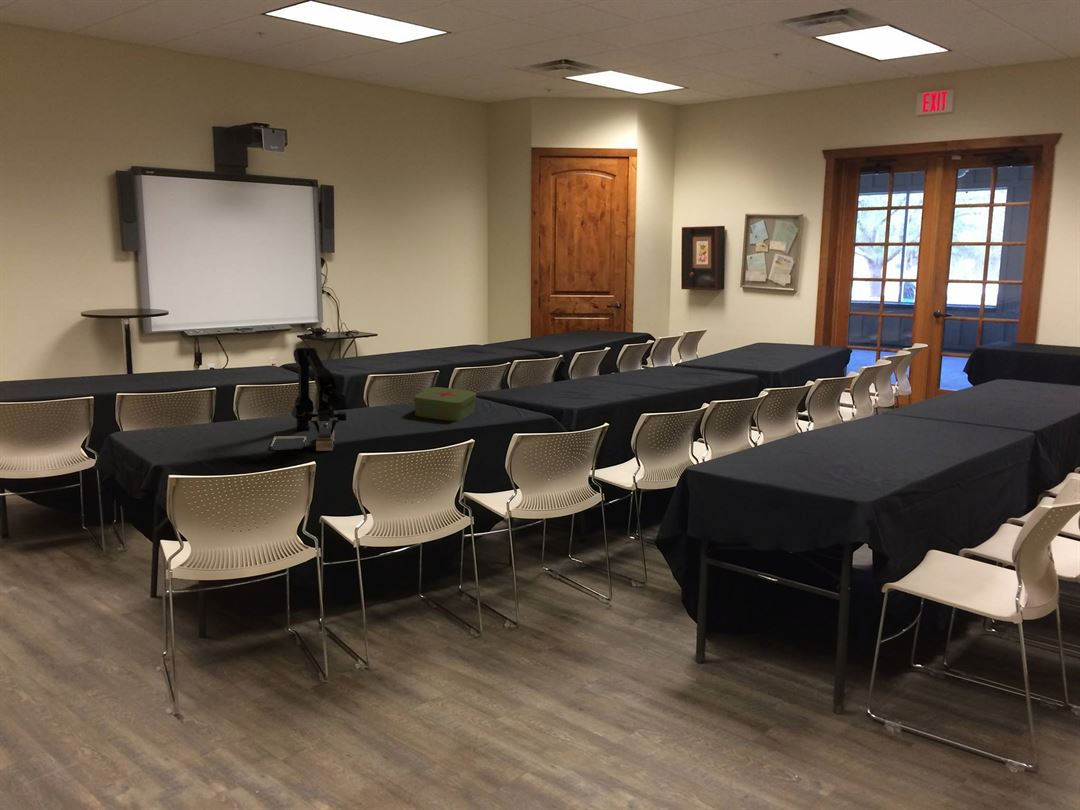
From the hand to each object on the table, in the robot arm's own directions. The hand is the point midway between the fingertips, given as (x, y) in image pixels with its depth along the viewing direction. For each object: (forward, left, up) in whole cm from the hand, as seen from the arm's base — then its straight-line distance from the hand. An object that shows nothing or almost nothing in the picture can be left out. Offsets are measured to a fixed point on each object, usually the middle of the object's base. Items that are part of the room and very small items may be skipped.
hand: (325, 434), depth 394 cm
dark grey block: (0, 0, -1) cm, 1 cm away
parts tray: (0, -16, -5) cm, 17 cm away
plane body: (0, 0, -5) cm, 5 cm away
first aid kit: (-53, +57, -5) cm, 78 cm away
